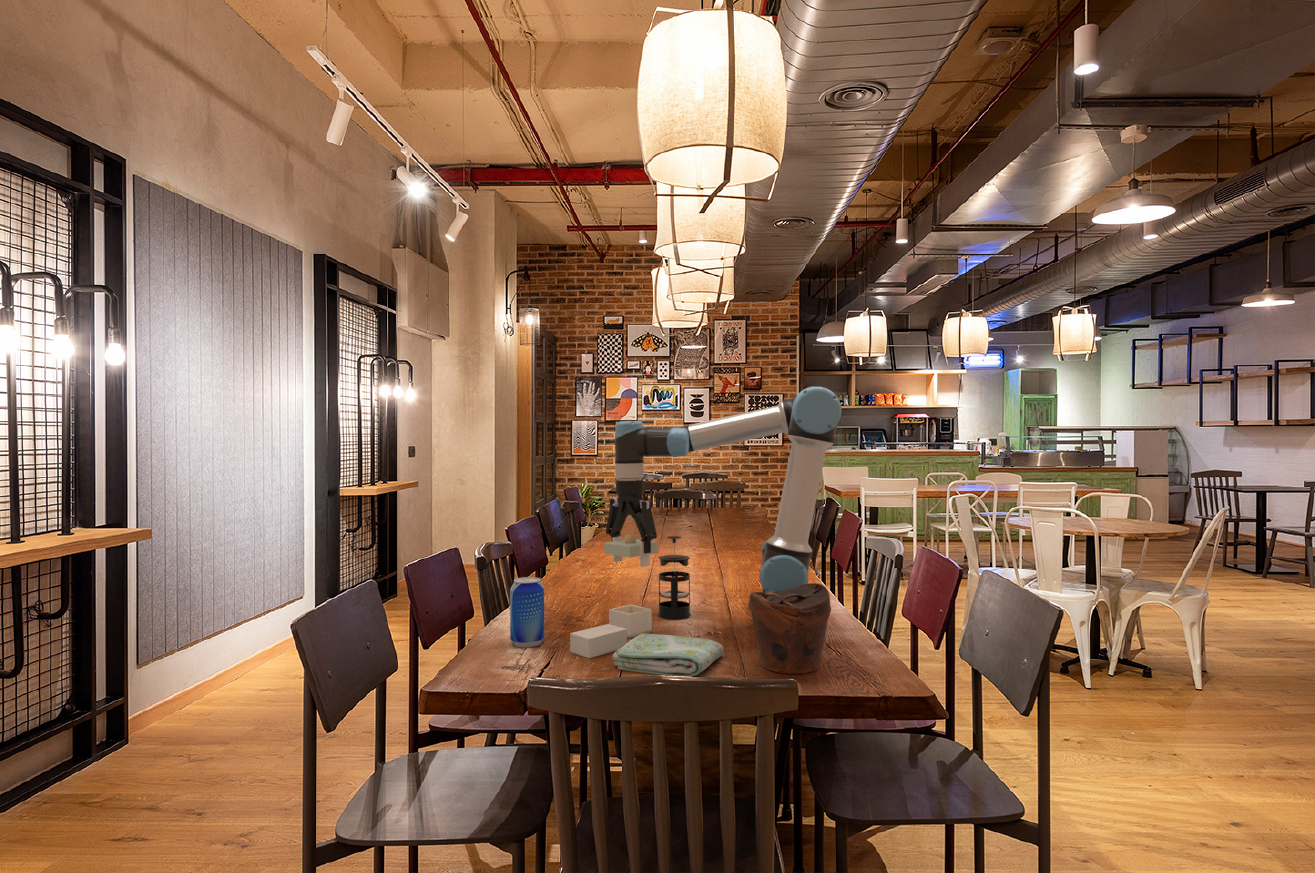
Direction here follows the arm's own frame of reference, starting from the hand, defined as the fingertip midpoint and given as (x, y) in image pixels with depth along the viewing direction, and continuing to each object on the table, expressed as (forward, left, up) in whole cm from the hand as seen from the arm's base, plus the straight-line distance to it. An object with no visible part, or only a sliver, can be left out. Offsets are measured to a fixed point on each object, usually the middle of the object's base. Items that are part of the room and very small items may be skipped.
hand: (631, 563), depth 188 cm
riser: (-6, +16, -18) cm, 25 cm away
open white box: (0, 0, -18) cm, 18 cm away
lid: (0, 0, +3) cm, 3 cm away
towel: (-25, +11, -19) cm, 33 cm away
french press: (+4, -21, -18) cm, 28 cm away
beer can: (+11, +25, -18) cm, 33 cm away
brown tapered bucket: (-46, -6, -18) cm, 50 cm away
